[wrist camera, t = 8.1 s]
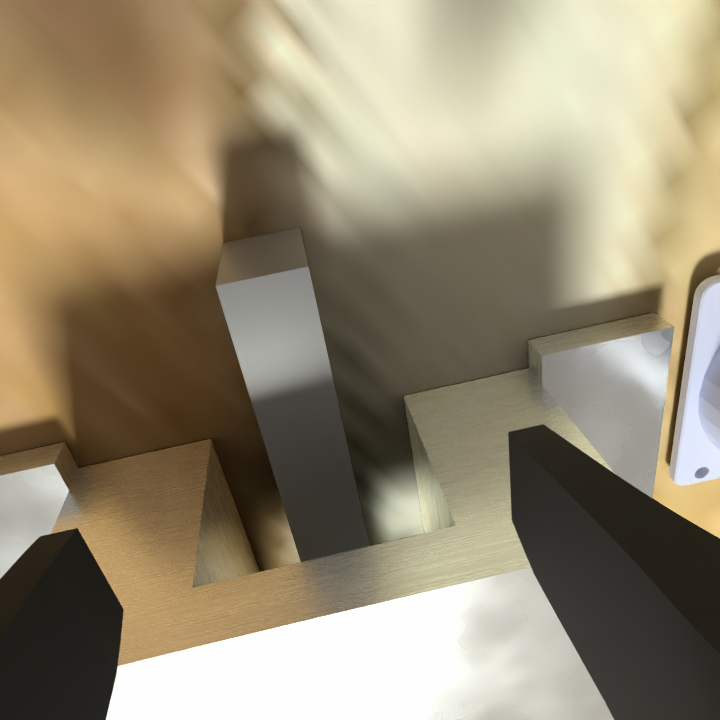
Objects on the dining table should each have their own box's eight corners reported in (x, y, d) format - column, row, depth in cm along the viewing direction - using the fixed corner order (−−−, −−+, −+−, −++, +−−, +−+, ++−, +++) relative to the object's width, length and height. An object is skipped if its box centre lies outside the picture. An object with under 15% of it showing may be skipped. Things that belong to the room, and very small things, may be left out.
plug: (337, 219, 15) (362, 273, 11) (420, 671, 25) (446, 773, 21) (184, 250, 15) (161, 315, 11) (329, 693, 25) (341, 800, 21)
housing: (653, 312, 18) (858, 454, 12) (629, 540, 23) (764, 722, 17) (-76, 472, 17) (-268, 721, 11) (68, 674, 22) (-6, 922, 16)
